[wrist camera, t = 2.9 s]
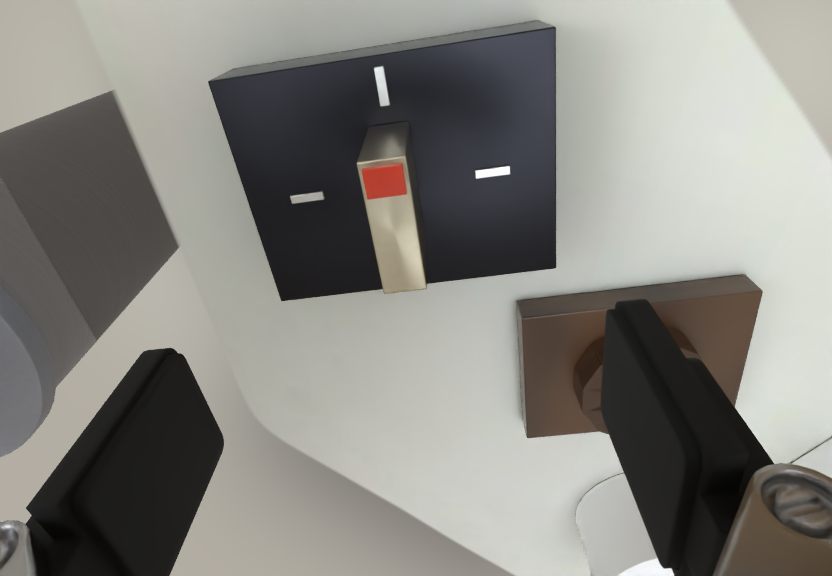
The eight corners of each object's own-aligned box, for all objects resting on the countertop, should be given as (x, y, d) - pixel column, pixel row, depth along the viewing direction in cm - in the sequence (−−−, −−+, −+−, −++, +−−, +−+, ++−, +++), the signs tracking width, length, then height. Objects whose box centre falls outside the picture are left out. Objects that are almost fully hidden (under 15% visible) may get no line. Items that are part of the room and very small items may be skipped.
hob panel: (294, 270, 27) (280, 303, 24) (232, 68, 22) (205, 82, 19) (543, 239, 26) (557, 270, 23) (539, 20, 21) (556, 26, 18)
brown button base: (522, 418, 33) (532, 462, 30) (516, 300, 28) (527, 339, 25) (717, 399, 32) (748, 443, 29) (745, 273, 27) (785, 311, 24)
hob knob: (425, 235, 23) (427, 292, 19) (389, 240, 23) (383, 297, 19) (408, 120, 20) (406, 157, 16) (368, 126, 20) (355, 165, 16)
